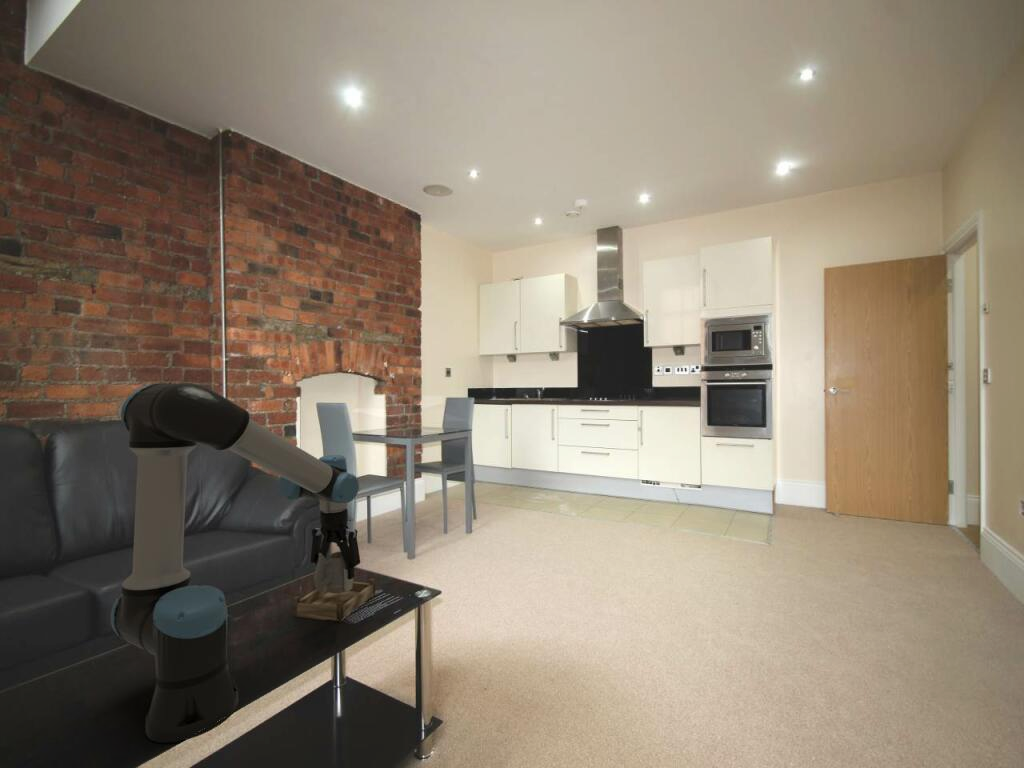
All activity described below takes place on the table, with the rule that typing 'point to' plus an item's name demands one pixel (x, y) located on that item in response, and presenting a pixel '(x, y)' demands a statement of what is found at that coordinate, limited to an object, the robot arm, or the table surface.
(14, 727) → the table surface
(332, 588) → the mug
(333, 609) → the wooden tray
